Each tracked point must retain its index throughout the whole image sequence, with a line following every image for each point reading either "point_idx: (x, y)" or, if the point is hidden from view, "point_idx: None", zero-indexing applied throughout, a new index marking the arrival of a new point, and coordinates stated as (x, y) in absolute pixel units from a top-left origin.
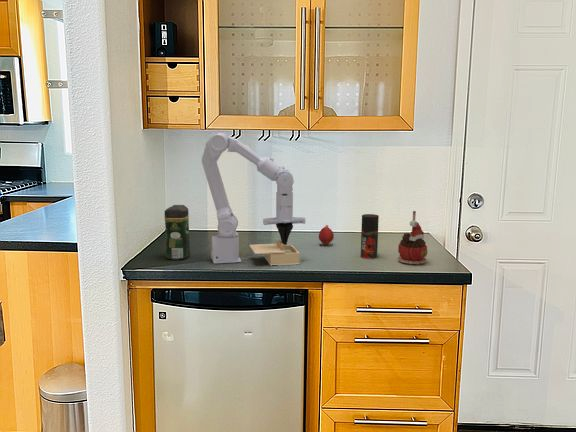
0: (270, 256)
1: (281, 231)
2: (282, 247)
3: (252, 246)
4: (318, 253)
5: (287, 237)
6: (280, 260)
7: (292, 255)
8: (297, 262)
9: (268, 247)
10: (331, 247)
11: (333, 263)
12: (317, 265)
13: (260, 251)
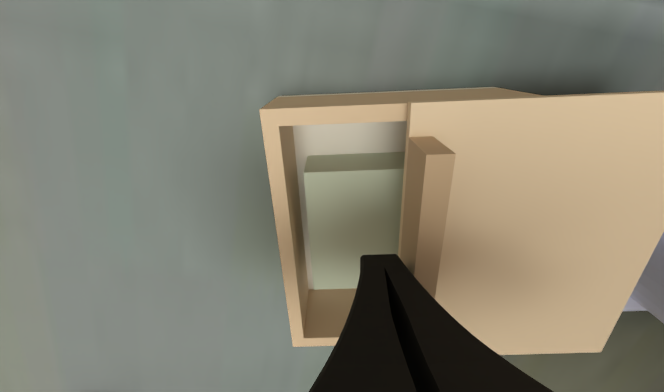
0: None
1: (496, 369)
2: (441, 146)
3: (608, 310)
4: (145, 308)
5: (365, 301)
6: (431, 93)
7: (331, 104)
8: (292, 96)
9: (504, 269)
10: (83, 385)
11: (22, 78)
12: (143, 39)
13: (644, 149)
